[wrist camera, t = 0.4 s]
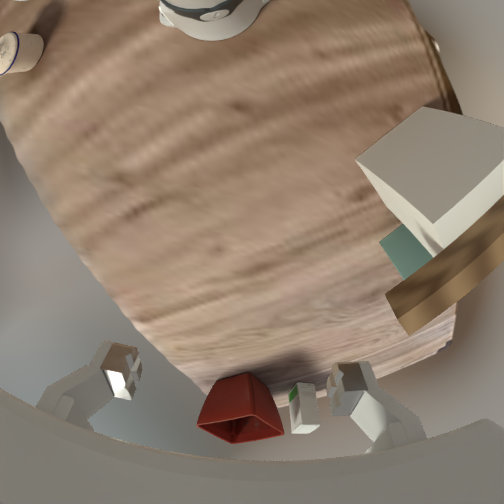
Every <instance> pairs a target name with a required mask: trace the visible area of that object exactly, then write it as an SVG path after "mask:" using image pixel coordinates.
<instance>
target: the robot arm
mask: <svg viewBox="0 0 504 504" xmlns="http://www.w3.org/2000/svg"><path fill="white" fill-rule="evenodd" d="M17 1H27V0H17ZM269 1H270V0H160V6H159V10H160V22H161V23H162V24H163V25H164V26H168V27H174V28H178V29H180V30H181V31H183V32H184V33H186V34H187V35H189V36H191V37H194V38H197V39H201V40H209V41H213V40H222V39H227V38H230V37H233V36H235V35H237V34H239V33H241V32H243V31H244V30H245V29H247V28H248V27H249V26H250V25H251V24H252V23H253V22H254V20H255V19H256V17H257V15H258V13H259V11H260V9H261V8H262V6H264V5H265V4H266V3H268V2H269ZM138 354H139V353H138V349H137V348H136V347H133V346H128V345H123V344H119V343H114V342H110V341H106V340H105V341H103V342H102V343H101V345H100V347H99V348H98V350H97V352H96V354H95V355H94V357H93V359H92V361H91V362H90V364H89V366H87V365H85V366H84V367H82V368H80V369H78V370H77V371H75V372H73V373H71V374H70V375H68V376H66V377H64V378H63V379H61V380H59V381H57V382H55V383H53V384H52V385H50V386H48V387H47V388H46V390H45V391H44V393H43V395H42V397H41V398H40V400H39V402H38V404H37V405H36V407H34V406H32V405H30V404H28V403H26V402H24V401H22V400H20V399H18V398H16V397H15V396H13V395H11V394H9V393H8V392H6V391H4V390H2V389H1V388H0V504H504V429H503V428H502V427H501V426H499V425H498V424H496V423H495V422H493V421H491V420H489V419H481V420H479V421H476V422H474V423H471V424H469V425H467V426H464V427H461V428H459V429H456V430H453V431H450V432H448V433H445V434H442V435H439V436H436V437H432V438H429V439H427V437H426V434H425V432H424V429H423V426H422V424H421V421H420V419H419V417H418V416H417V415H416V414H414V413H413V412H412V411H410V410H409V409H408V408H407V407H405V406H404V405H403V404H401V403H400V402H399V401H398V400H396V399H395V398H394V397H392V396H391V395H390V394H389V393H387V392H386V391H385V390H384V389H380V388H379V386H378V383H377V381H376V378H375V375H374V372H373V370H372V367H371V365H370V363H369V362H368V361H361V362H338V363H334V364H333V367H332V372H333V373H332V374H330V375H329V377H328V379H327V385H326V389H327V396H328V397H329V398H330V399H331V402H330V403H329V406H330V410H331V414H332V416H345V415H350V417H351V418H352V419H353V420H354V421H355V422H356V423H357V424H358V426H359V427H360V428H361V429H362V430H363V431H364V432H365V433H366V434H367V435H368V437H369V438H370V439H371V440H372V441H373V442H374V443H373V444H372V445H371V446H370V447H369V448H368V450H367V451H366V452H365V454H360V455H353V456H345V457H338V458H337V457H336V458H327V459H316V460H299V461H250V460H232V459H221V458H210V457H202V456H194V455H188V454H181V453H176V452H170V451H165V450H160V449H155V448H150V447H146V446H142V445H138V444H134V443H130V442H126V441H123V440H119V439H116V438H113V437H109V436H106V435H103V434H100V433H97V432H94V429H93V427H92V426H91V424H90V423H89V422H88V420H87V419H89V418H90V417H91V416H92V415H93V414H95V413H96V412H97V411H98V410H99V409H101V408H102V407H103V406H104V405H105V404H107V403H108V402H109V401H110V400H112V399H113V398H114V396H115V397H119V398H124V399H128V400H132V399H133V396H134V393H135V391H136V386H135V383H137V382H138V381H139V380H140V377H141V373H142V364H141V360H139V358H138V357H137V356H138Z"/></svg>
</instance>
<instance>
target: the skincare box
mask: <svg viewBox="0 0 504 504" xmlns="http://www.w3.org/2000/svg"><path fill="white" fill-rule="evenodd" d="M288 396H289V407H290V417H291V429H292V433H310V432H312V431H313V430H315V429H316V428H317V427H318V426H320V425H321V424H320V418H319V411H318V405H317V398H316V392H315V385H314V384H313V383H302V382H297V383H296V385H295V386H294V387H293V388H292V389H291V391H290V392H289V393H288Z"/></svg>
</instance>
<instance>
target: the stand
mask: <svg viewBox="0 0 504 504" xmlns="http://www.w3.org/2000/svg"><path fill="white" fill-rule="evenodd" d="M355 161H356V162H357V163H358V165H359V166H360V168H361V169H362V170H363V172H364V173H365V175H366V176H367V177H368V179H369V180H370V182H371V183H372V185H373V186H374V188H375V189H376V191H377V192H378V194H379V195H380V197H381V198H382V200H383V202H384V203H385V205H386V206H387V207H388V208H389V209H390V210H391V211H392V212H393V213H394V214H395V216H396V217H397V218H398V219H399V220H400V221H401V222H402V223H403V224H404V225H405V226H406V227H407V228H408V229H409V230H410V231H411V233H412V234H413V235H414V236H415V237H416V238H417V239H418V240H419V241H420V243H421V244H422V245H423V246H424V247H425V248H426V249H427V251H428V252H429V253H430V254H431V255H432V257H433V258H434V257H435V256H436V255H437V254H439V253H440V252H441V251H442V250H444V249H445V248H446V247H447V246H448V245H450V244H451V243H452V242H453V241H454V240H456V239H457V238H458V237H459V236H460V235H461V234H462V233H464V232H465V231H466V230H467V229H468V228H469V227H470V226H471V225H473V224H474V223H475V222H476V221H477V220H478V219H479V218H480V217H481V216H482V215H483V214H484V213H486V212H487V211H488V210H489V209H490V208H491V207H492V206H493V205H494V204H495V203H496V202H497V201H498V200H499V199H500V198H501V197H502V196H503V195H504V128H503V127H499V126H497V125H494V124H491V123H487V122H484V121H481V120H478V119H474V118H471V117H467V116H463V115H459V114H455V113H451V112H447V111H442V110H438V109H433V108H428V107H423V106H422V107H421V108H419V109H418V110H417V111H415V112H414V113H413V114H412V115H410V116H409V117H408V118H406V119H405V120H404V121H403V122H401V123H400V124H399V125H397V126H396V127H395V128H394V129H392V130H391V131H390V132H389V133H387V134H386V135H385V136H383V137H382V138H381V139H380V140H378V141H377V142H376V143H375V144H373V145H372V146H371V147H370V148H368V149H367V150H366V151H364V152H363V153H362V154H361V155H359V156H358V157H357V158H356V159H355Z"/></svg>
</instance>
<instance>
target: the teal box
mask: <svg viewBox="0 0 504 504" xmlns="http://www.w3.org/2000/svg"><path fill="white" fill-rule="evenodd" d="M379 243H380V244H381V246H382V247H383V249H384V250H385V252H386V253H387V255H388V256H389V258H390V259H391V261H392V263H393V264H394V266H395V267H396V269H397V270H398V272H399V273H400V275H401V276H402V278H403V280H405V279H406V278H408V277H409V276H410V275H412V274H413V273H414V272H416V271H417V270H418V269H420V268H421V267H422V266H424V265H425V264H426V263H427V262H429V261H430V260H431V259H432V258H433V257H432V255H431V254H430V253H429V252H428V251H427V249H426V248H425V247H424V246H423V245H422V244H421V243H420V241H419V240H418V239H417V238H416V237H415V236H414V235H413V234H412V233H411V231H410V230H409V229H408V228H407V227H406V226H405V225H404V224H402V225H401V226H399V227H398V228H397V229H396V230H394V231H393V232H392V233H390V234H389V235H388V236H387V237H385V238H384V239H383V240H381V241H380V242H379Z"/></svg>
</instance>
